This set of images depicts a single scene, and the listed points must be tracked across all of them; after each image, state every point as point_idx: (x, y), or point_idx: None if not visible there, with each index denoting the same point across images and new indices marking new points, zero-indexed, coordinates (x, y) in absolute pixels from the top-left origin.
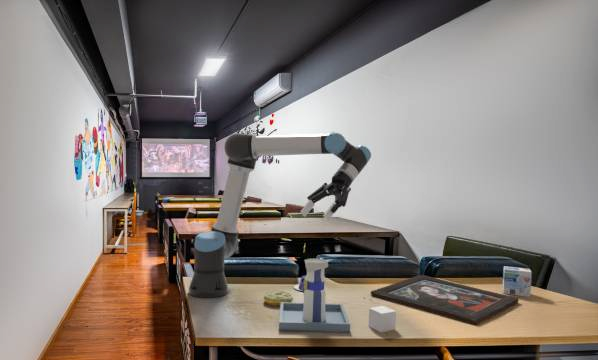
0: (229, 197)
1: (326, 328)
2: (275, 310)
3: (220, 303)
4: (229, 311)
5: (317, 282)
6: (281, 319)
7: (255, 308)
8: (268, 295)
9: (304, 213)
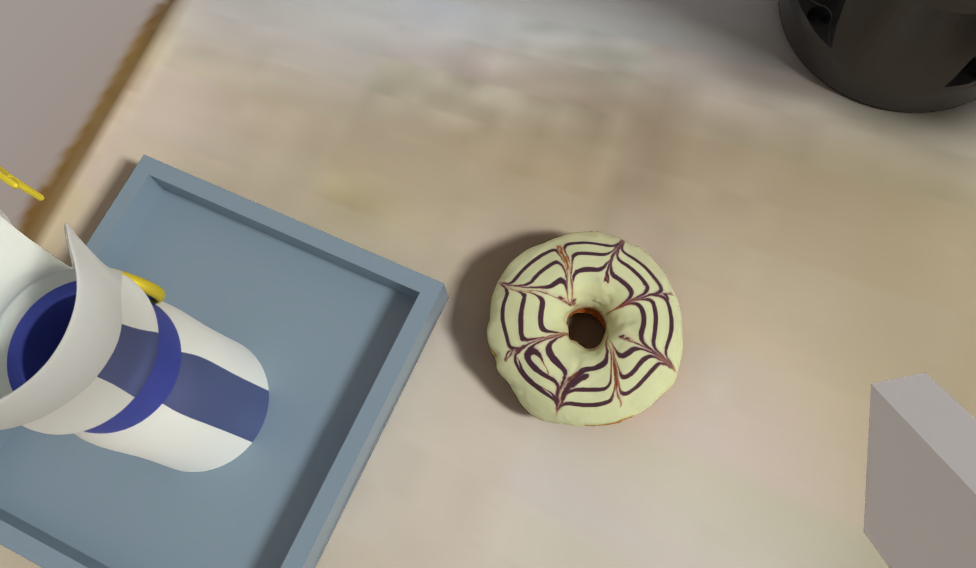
0: None
1: None
2: (443, 264)
3: (664, 27)
4: (516, 39)
5: (10, 331)
6: (174, 179)
7: (517, 172)
8: (567, 244)
9: (888, 500)
